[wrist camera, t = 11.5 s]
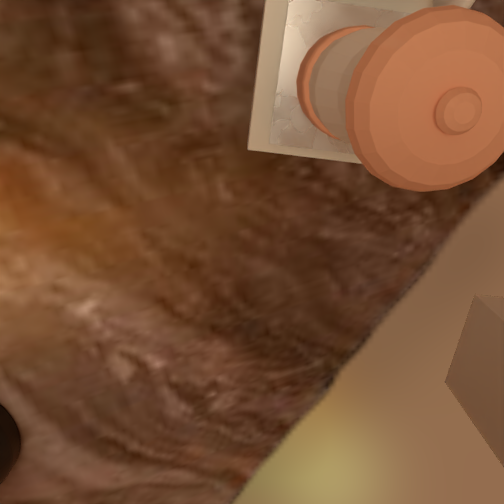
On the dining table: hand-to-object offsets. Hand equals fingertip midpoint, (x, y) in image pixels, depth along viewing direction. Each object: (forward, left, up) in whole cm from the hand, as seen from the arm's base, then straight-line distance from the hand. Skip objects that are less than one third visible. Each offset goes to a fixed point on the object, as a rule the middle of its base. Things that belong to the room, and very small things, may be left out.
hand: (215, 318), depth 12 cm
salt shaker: (+5, -8, -26) cm, 27 cm away
